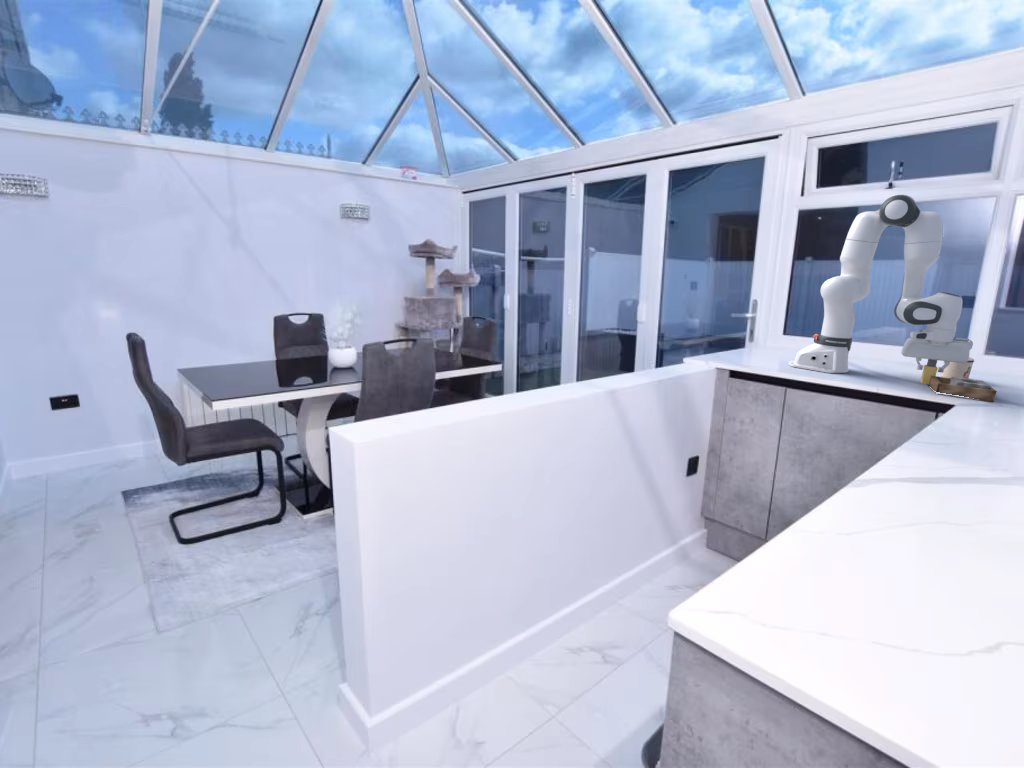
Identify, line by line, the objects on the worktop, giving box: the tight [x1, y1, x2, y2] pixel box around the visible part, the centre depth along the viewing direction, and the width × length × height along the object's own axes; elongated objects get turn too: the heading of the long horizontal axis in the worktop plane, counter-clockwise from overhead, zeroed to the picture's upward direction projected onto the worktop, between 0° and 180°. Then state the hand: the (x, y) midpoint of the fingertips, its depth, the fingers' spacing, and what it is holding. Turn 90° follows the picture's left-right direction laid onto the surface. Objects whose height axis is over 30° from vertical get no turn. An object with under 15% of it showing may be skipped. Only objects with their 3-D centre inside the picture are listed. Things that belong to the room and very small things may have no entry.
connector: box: [919, 359, 939, 385], centre depth 200 cm, size 4×4×10 cm
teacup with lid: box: [940, 356, 975, 379], centre depth 210 cm, size 12×9×12 cm
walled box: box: [928, 375, 998, 403], centre depth 187 cm, size 16×14×5 cm
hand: (929, 370), depth 199 cm, fingers open, 5 cm apart
